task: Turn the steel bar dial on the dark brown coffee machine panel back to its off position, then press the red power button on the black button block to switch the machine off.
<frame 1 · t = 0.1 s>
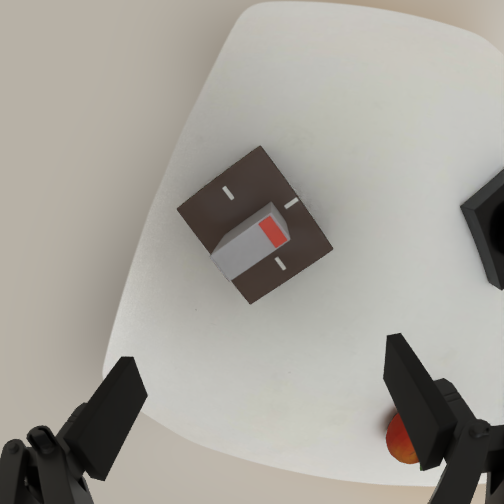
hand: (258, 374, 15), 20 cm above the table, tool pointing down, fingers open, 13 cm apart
button block: (500, 225, 31), on the table
dial: (252, 237, 26), point 7 cm above the table, hinge at 90.0°
dial panel: (256, 222, 33), on the table
fruit: (408, 414, 39), on the table
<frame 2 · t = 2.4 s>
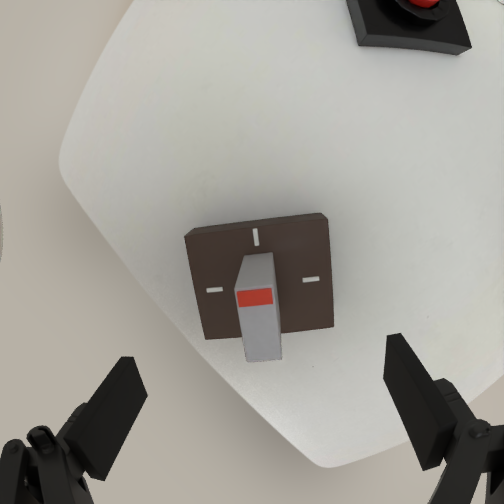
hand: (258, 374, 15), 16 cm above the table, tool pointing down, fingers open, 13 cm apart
button block: (400, 9, 22), on the table
dial: (261, 303, 23), point 7 cm above the table, hinge at 90.0°
dial panel: (263, 271, 30), on the table
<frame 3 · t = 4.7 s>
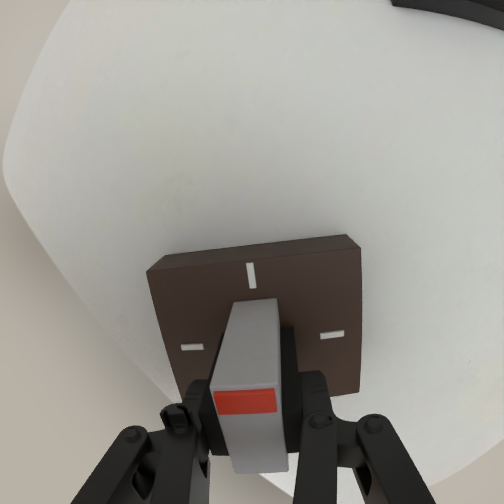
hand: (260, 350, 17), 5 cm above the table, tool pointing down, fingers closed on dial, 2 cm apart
dial: (257, 382, 14), point 7 cm above the table, hinge at 90.0°, touching gripper
dial panel: (263, 315, 21), on the table
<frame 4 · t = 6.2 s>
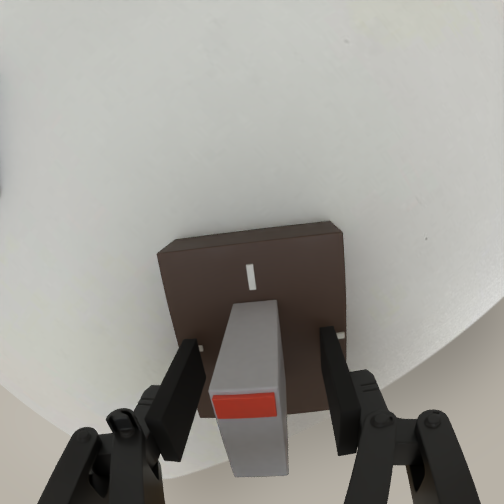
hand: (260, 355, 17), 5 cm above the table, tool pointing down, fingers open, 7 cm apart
dial: (257, 385, 14), point 7 cm above the table, hinge at 0.0°
dial panel: (262, 317, 21), on the table
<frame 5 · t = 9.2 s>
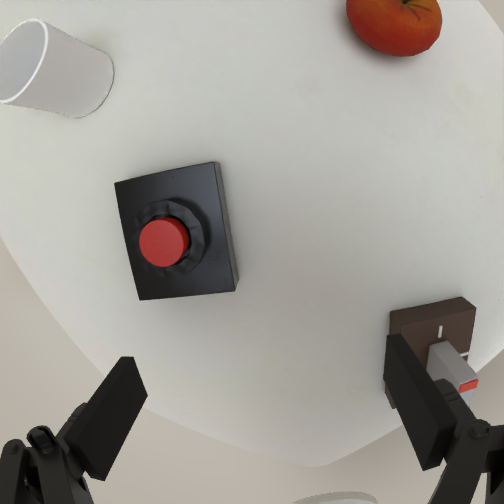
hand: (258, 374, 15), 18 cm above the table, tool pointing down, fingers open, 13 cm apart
button block: (181, 229, 32), on the table
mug: (72, 87, 28), on the table
dial: (449, 381, 26), point 7 cm above the table, hinge at 0.0°
dial panel: (424, 347, 33), on the table
power button: (164, 241, 26), point 5 cm above the table, slide at 0.1 cm
fruit: (381, 29, 25), on the table
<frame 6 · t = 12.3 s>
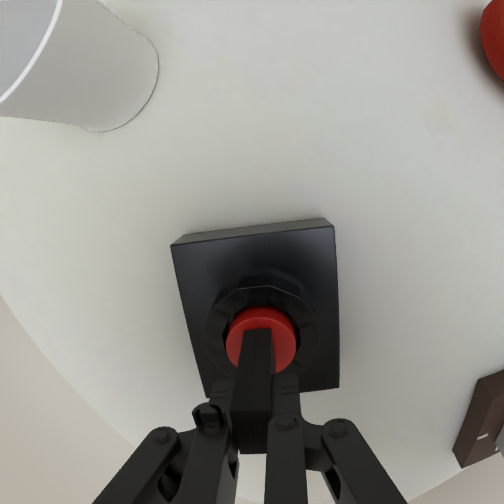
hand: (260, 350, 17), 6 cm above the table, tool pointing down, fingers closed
button block: (263, 306, 23), on the table
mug: (92, 84, 20), on the table
dial panel: (496, 406, 25), on the table
power button: (261, 341, 18), point 5 cm above the table, slide at -0.3 cm, touching gripper
fruit: (502, 58, 17), on the table
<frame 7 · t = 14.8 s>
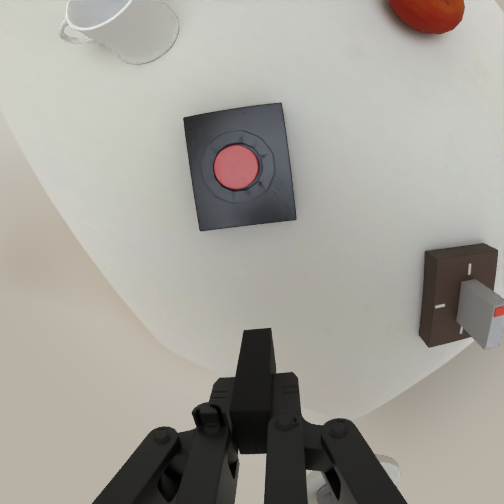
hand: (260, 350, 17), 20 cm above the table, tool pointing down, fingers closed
button block: (242, 166, 34), on the table
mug: (134, 37, 30), on the table
dial: (481, 313, 29), point 7 cm above the table, hinge at 0.0°
dial panel: (453, 289, 36), on the table
power button: (236, 167, 28), point 5 cm above the table, slide at 0.1 cm
fruit: (412, 12, 27), on the table
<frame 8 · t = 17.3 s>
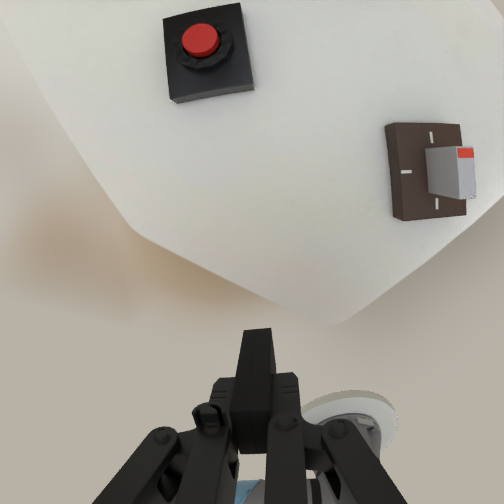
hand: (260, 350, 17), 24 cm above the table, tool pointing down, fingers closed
button block: (209, 55, 35), on the table
dial: (450, 171, 30), point 7 cm above the table, hinge at 0.0°
dial panel: (422, 169, 37), on the table
power button: (200, 40, 29), point 5 cm above the table, slide at 0.1 cm
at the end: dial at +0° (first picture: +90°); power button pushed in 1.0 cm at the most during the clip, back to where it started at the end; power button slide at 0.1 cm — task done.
